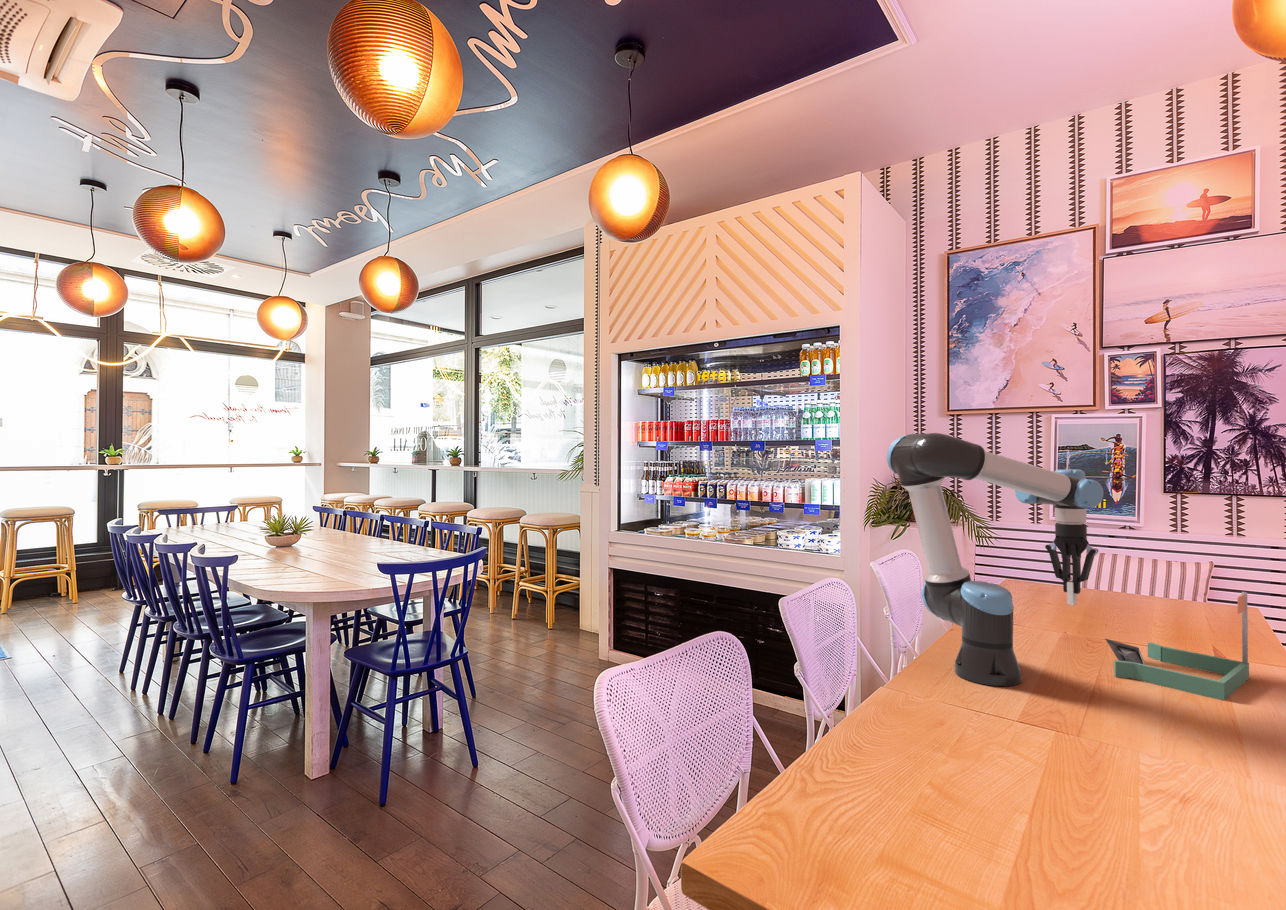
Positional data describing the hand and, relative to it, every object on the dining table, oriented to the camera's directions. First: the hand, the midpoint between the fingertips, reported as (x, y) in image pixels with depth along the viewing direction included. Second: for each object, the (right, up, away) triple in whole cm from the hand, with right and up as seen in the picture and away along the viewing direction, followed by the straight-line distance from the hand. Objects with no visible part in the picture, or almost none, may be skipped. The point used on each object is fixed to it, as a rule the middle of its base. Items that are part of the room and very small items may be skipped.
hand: (1072, 604), depth 179 cm
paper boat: (+6, -14, -12) cm, 19 cm away
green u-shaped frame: (+14, -14, -20) cm, 28 cm away
